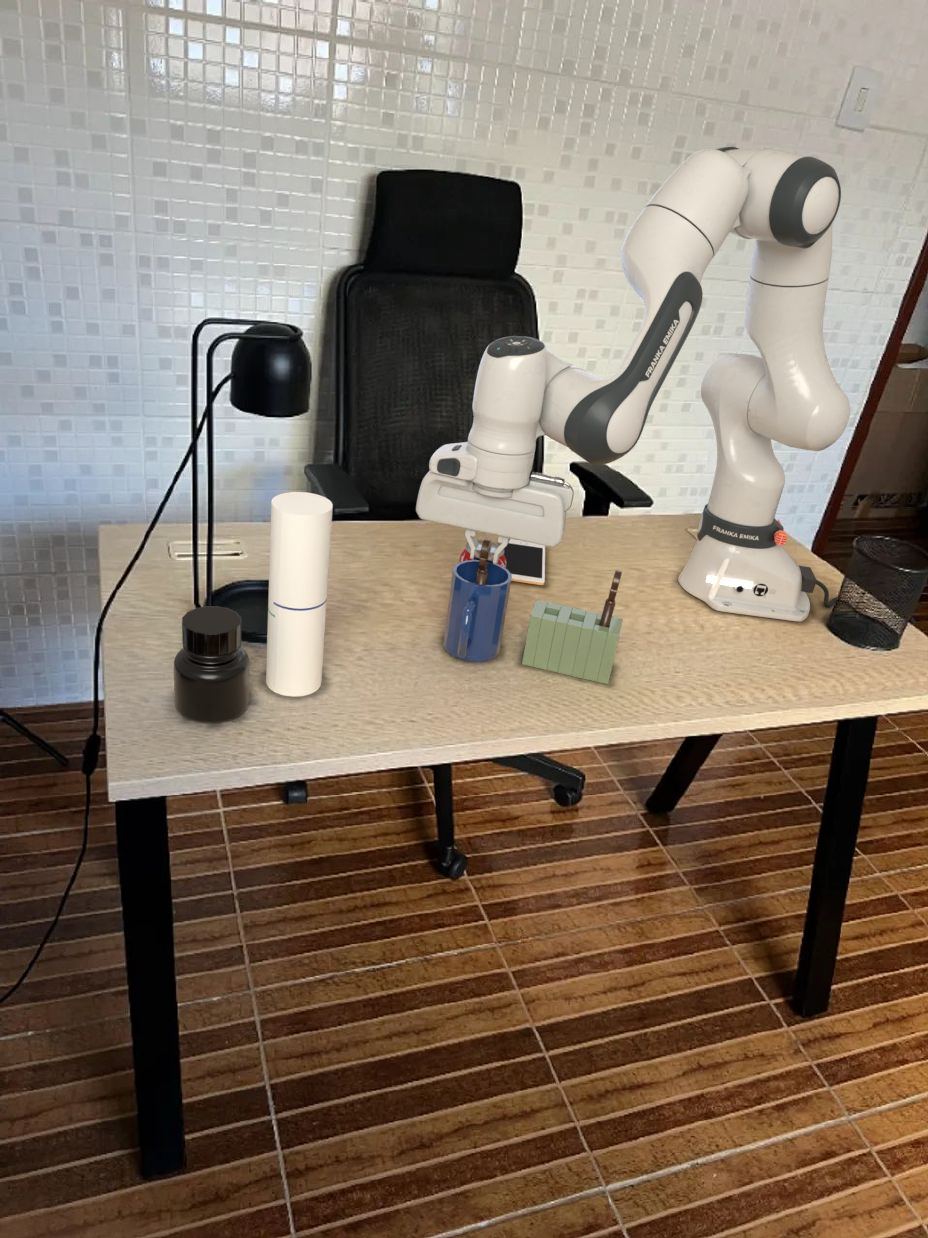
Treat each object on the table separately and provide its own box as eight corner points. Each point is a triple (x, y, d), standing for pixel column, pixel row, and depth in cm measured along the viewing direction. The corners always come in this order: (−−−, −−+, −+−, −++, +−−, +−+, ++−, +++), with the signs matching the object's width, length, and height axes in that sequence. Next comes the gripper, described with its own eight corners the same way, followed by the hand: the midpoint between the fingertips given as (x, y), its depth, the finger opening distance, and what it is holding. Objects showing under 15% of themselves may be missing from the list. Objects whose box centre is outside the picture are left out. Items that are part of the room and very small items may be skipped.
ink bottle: (254, 686, 121) (256, 604, 116) (249, 726, 114) (251, 640, 108) (176, 683, 120) (174, 599, 114) (165, 724, 112) (163, 636, 106)
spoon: (479, 638, 138) (494, 536, 130) (474, 647, 135) (489, 545, 127) (469, 635, 138) (484, 534, 130) (464, 645, 135) (479, 542, 128)
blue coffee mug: (450, 627, 141) (460, 555, 136) (504, 640, 140) (517, 567, 134) (429, 666, 131) (438, 590, 125) (487, 680, 130) (499, 603, 124)
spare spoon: (597, 667, 136) (624, 568, 129) (595, 677, 134) (622, 577, 126) (588, 665, 137) (614, 565, 129) (585, 675, 134) (612, 574, 126)
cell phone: (544, 546, 171) (545, 543, 171) (544, 586, 157) (544, 582, 157) (502, 540, 172) (502, 537, 171) (497, 579, 157) (498, 575, 157)
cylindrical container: (296, 703, 119) (305, 520, 107) (254, 682, 122) (258, 502, 110) (332, 680, 125) (344, 504, 113) (291, 660, 128) (298, 487, 116)
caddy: (611, 666, 137) (622, 618, 133) (607, 684, 133) (619, 635, 129) (528, 647, 139) (537, 599, 135) (521, 664, 134) (530, 615, 131)
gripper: (579, 473, 125) (561, 567, 132) (431, 443, 128) (420, 536, 135) (573, 488, 119) (554, 585, 126) (418, 456, 123) (407, 553, 129)
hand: (484, 560), depth 130 cm, fingers closed on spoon, 1 cm apart
